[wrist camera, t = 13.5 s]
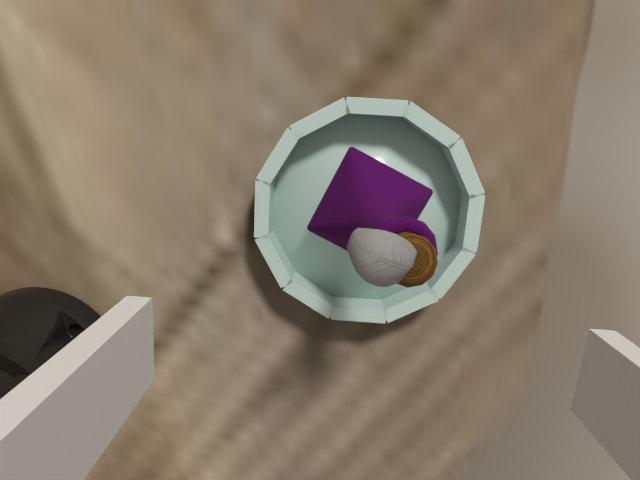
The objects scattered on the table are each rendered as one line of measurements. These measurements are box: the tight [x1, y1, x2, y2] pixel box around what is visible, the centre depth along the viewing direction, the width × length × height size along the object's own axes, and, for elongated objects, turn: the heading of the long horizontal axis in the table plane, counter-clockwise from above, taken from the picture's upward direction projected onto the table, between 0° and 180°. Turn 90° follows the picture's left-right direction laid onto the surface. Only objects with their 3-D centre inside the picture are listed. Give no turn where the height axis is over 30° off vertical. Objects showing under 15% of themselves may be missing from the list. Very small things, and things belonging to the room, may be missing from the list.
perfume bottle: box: [307, 147, 438, 288], centre depth 30 cm, size 8×8×18 cm
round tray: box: [254, 97, 485, 323], centre depth 38 cm, size 18×18×4 cm
